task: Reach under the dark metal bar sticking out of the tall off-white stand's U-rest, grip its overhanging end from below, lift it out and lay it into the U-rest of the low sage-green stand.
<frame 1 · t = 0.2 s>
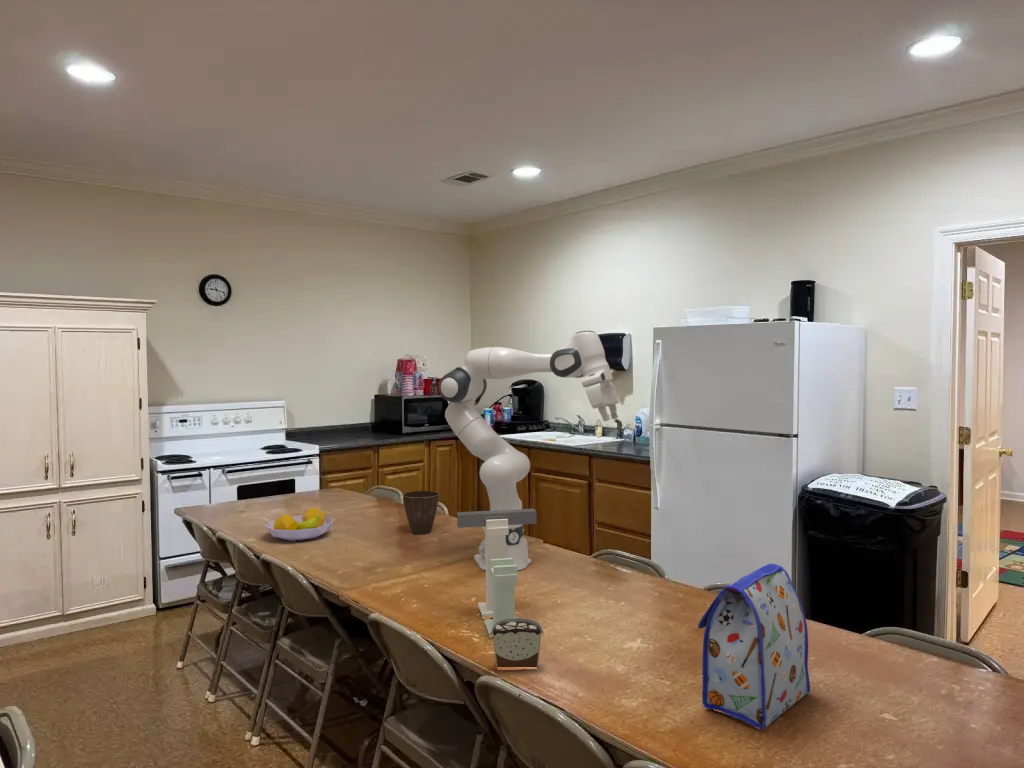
hand: (611, 419, 217), 52 cm above the table, tool tilted 20°, fingers open, 8 cm apart
fruit bowl: (301, 537, 276), on the table
metal bar: (496, 524, 191), point 25 cm above the table, touching tall stand
tall stand: (496, 612, 191), on the table
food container: (516, 665, 159), on the table
low stand: (503, 630, 179), on the table
plant pot: (421, 532, 282), on the table
lunch bag: (754, 701, 141), on the table
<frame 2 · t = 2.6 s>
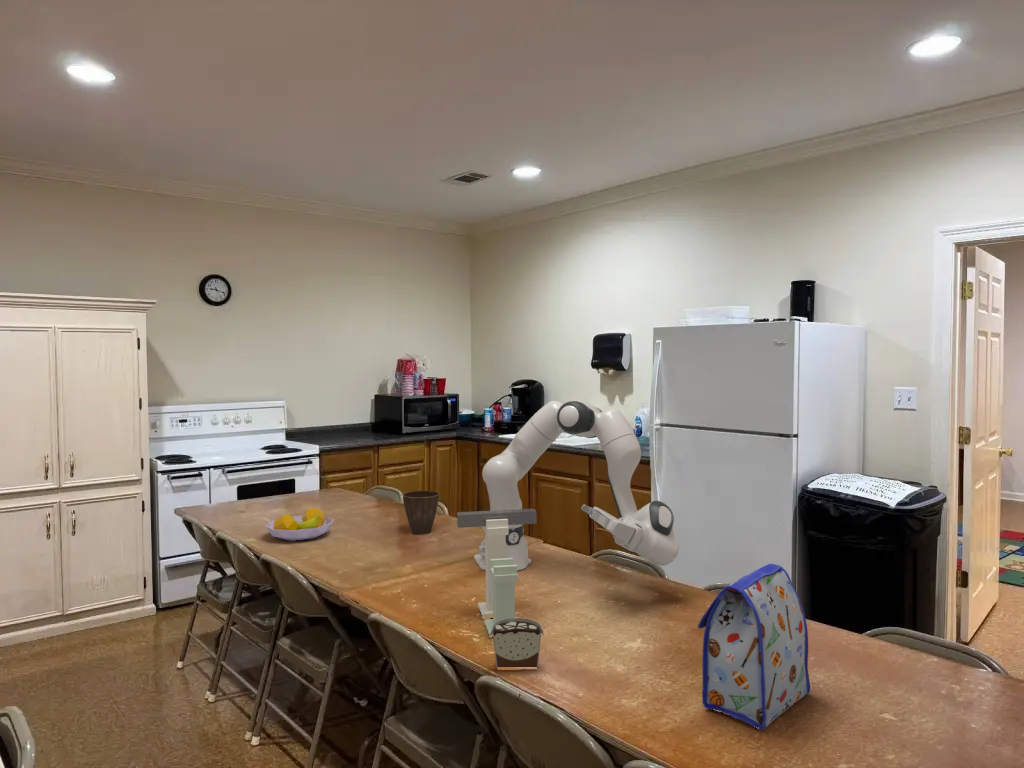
hand: (587, 510, 195), 28 cm above the table, tool pointing upward, fingers open, 8 cm apart
nothing on the table moved.
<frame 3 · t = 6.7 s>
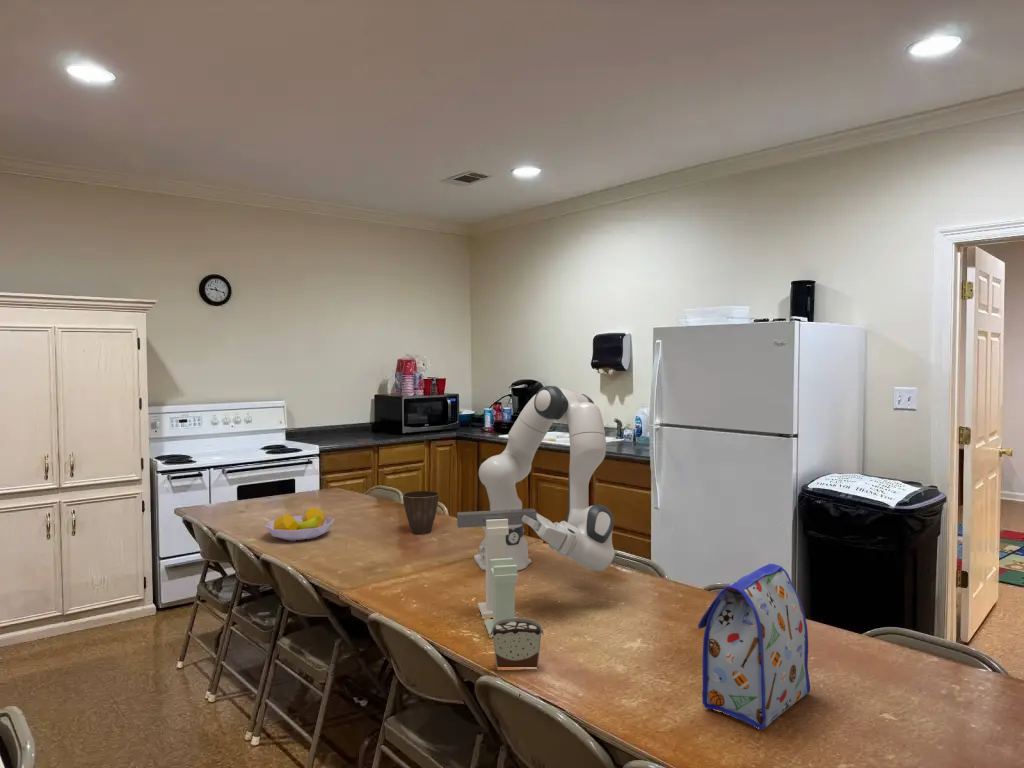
hand: (520, 515, 192), 27 cm above the table, tool pointing upward, fingers closed on metal bar, 3 cm apart
metal bar: (496, 524, 191), point 25 cm above the table, touching gripper, tall stand
everything else where it was.
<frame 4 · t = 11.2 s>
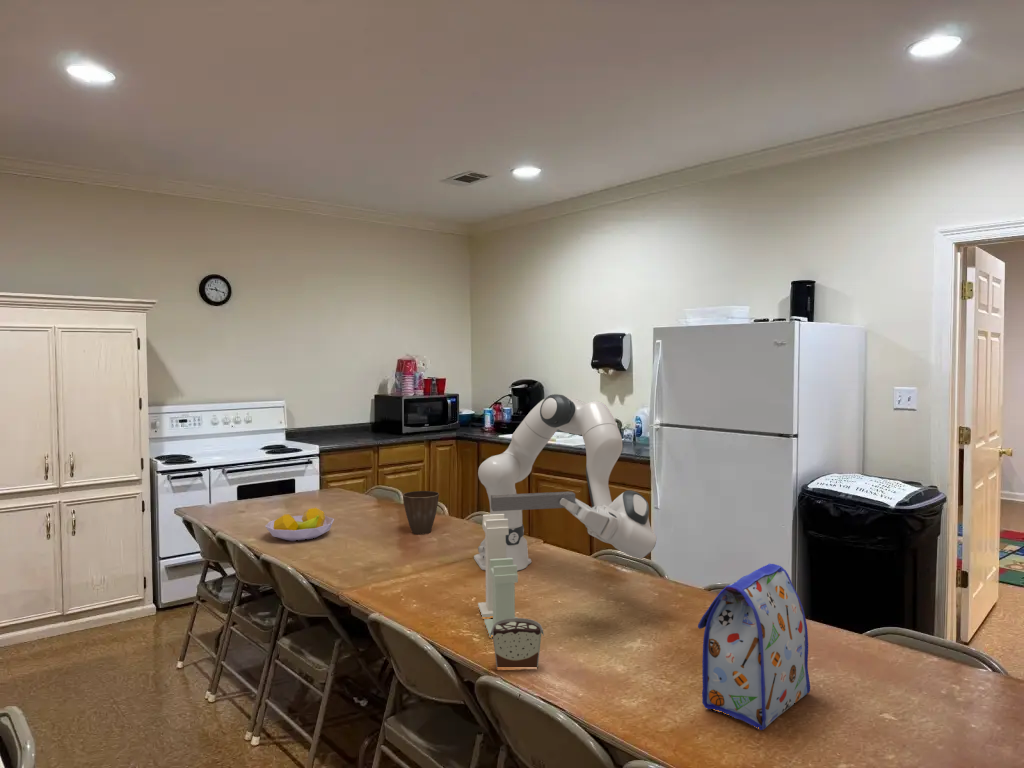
hand: (557, 498, 180), 34 cm above the table, tool pointing upward, fingers closed on metal bar, 3 cm apart
metal bar: (533, 507, 179), point 32 cm above the table, touching gripper
everything else where it was.
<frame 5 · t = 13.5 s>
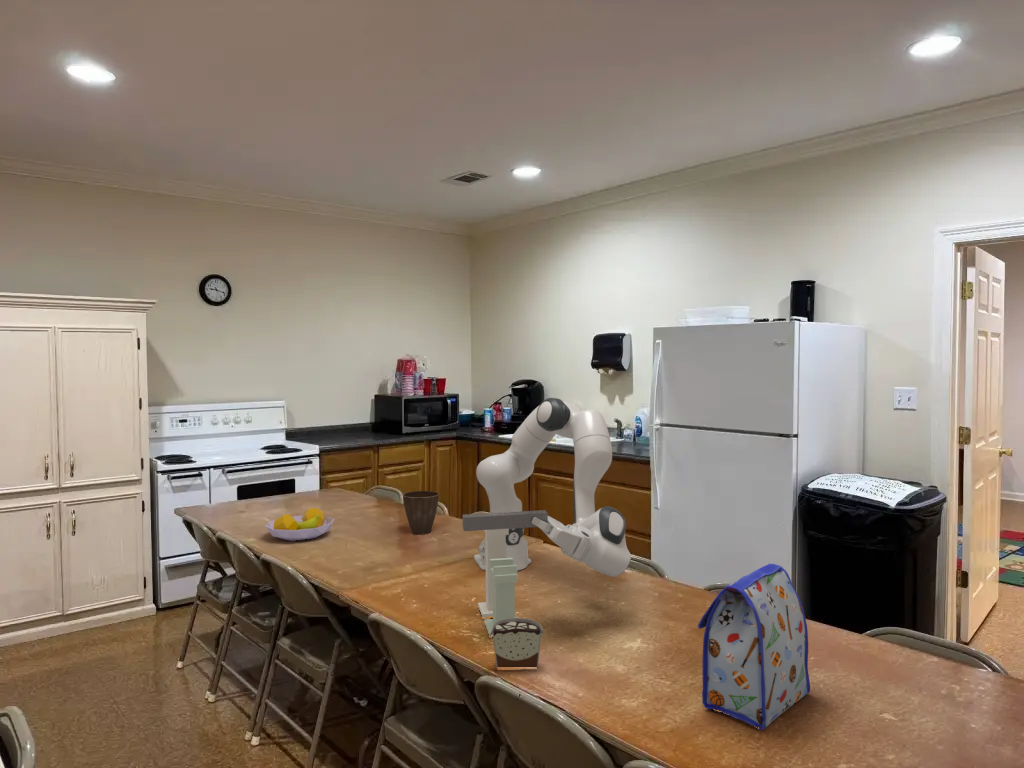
hand: (530, 517, 179), 30 cm above the table, tool pointing upward, fingers closed on metal bar, 3 cm apart
metal bar: (505, 527, 178), point 27 cm above the table, touching gripper
everything else where it was.
when the fingers open (19 cm above the table, at t = 15.5 s): metal bar drops 1 cm, resting on low stand.
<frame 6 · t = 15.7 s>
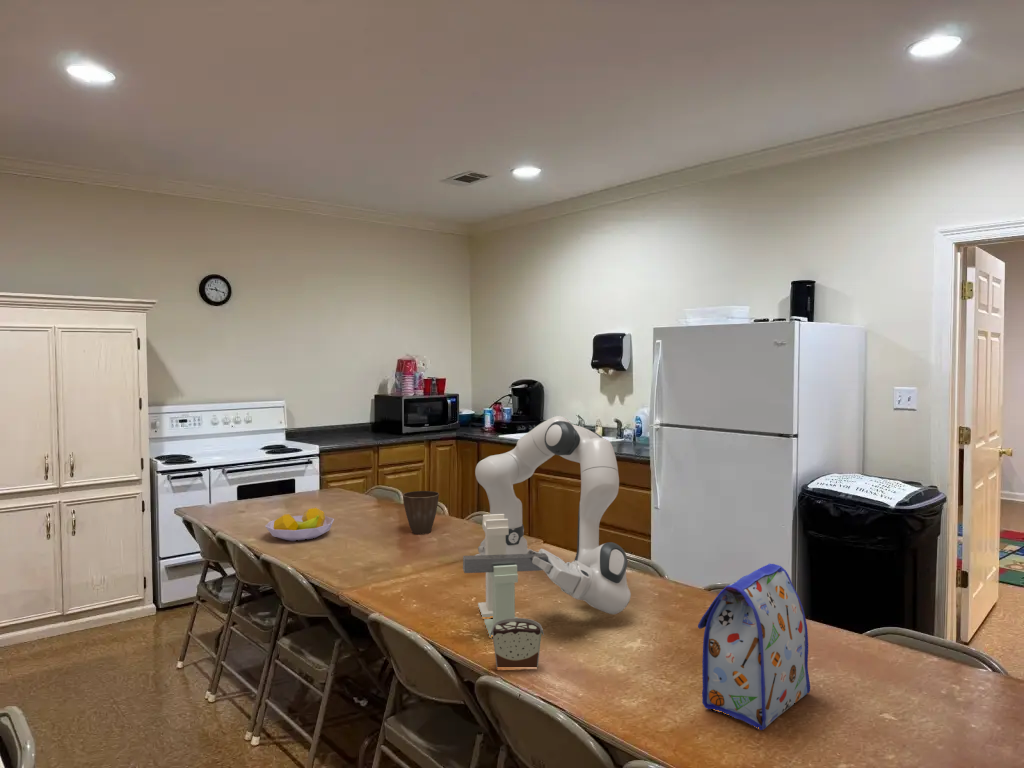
hand: (530, 555, 179), 19 cm above the table, tool pointing upward, fingers open, 5 cm apart
metal bar: (505, 569, 178), point 16 cm above the table, touching low stand
everything else where it was.
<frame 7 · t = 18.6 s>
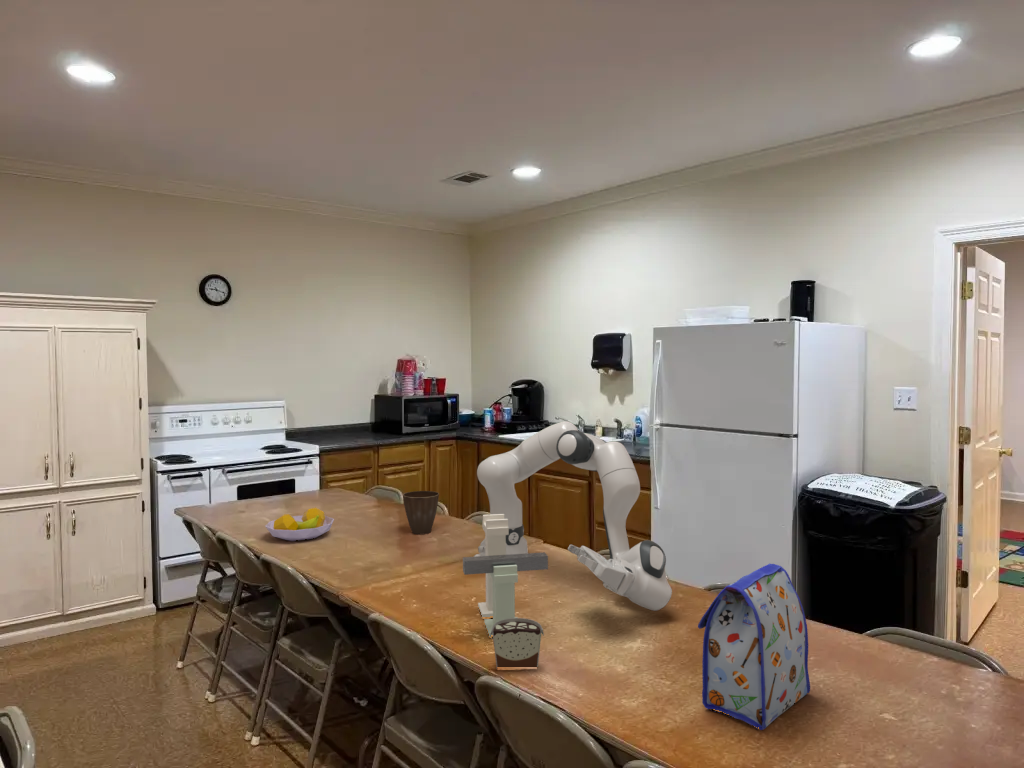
hand: (574, 552, 182), 20 cm above the table, tool pointing upward, fingers open, 8 cm apart
nothing on the table moved.
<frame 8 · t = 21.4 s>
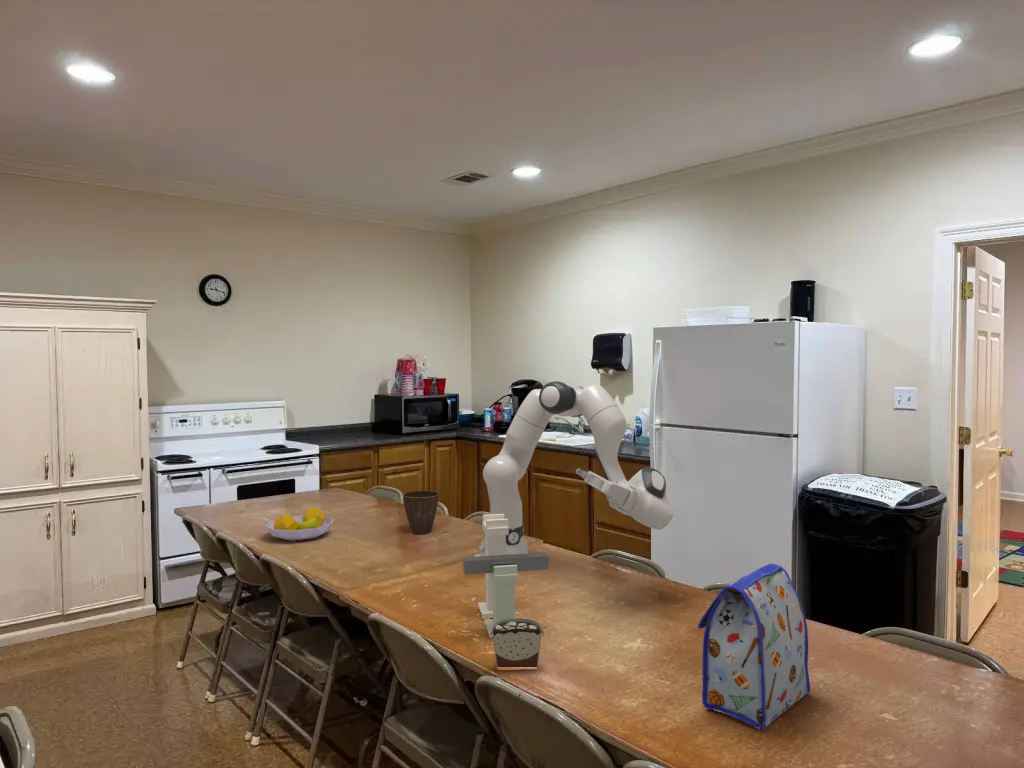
hand: (581, 473, 194), 38 cm above the table, tool pointing upward, fingers open, 8 cm apart
nothing on the table moved.
at the end: metal bar inside the target area on the low stand (0.6 cm from its centre), point 16.0 cm above the low stand's base; the gripper is holding nothing; metal bar tilted 0° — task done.
